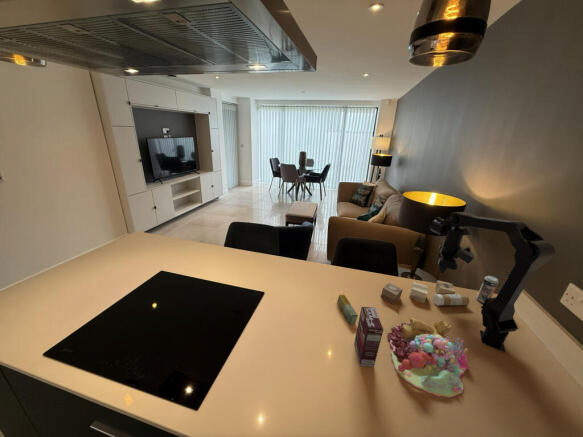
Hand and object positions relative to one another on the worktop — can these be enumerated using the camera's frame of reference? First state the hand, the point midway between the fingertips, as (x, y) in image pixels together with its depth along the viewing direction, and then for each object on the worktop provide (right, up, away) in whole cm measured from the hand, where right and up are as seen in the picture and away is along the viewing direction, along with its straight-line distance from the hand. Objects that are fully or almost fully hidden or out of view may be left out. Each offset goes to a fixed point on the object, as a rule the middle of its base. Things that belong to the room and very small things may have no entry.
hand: (441, 272), depth 101 cm
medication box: (-44, -14, -9) cm, 47 cm away
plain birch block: (-9, -11, +2) cm, 15 cm away
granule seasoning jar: (+10, -11, -1) cm, 15 cm away
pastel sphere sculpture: (-22, -22, -26) cm, 40 cm away
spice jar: (+20, -13, +2) cm, 24 cm away
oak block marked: (+4, -11, +5) cm, 13 cm away
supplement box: (-43, -21, -26) cm, 54 cm away
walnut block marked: (-22, -11, +1) cm, 25 cm away
